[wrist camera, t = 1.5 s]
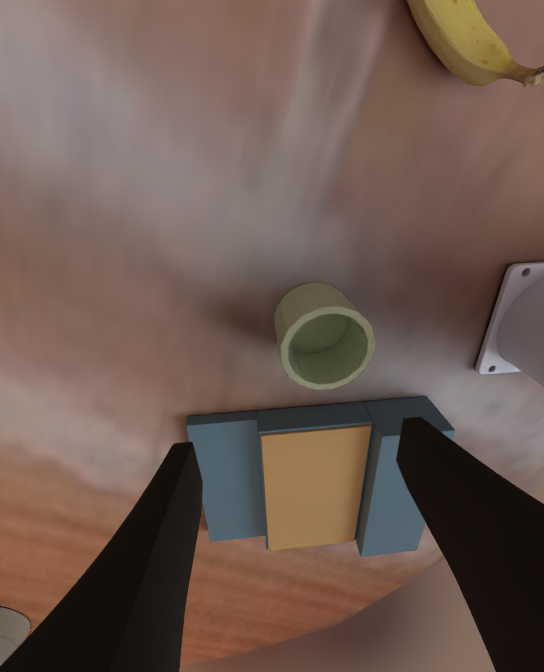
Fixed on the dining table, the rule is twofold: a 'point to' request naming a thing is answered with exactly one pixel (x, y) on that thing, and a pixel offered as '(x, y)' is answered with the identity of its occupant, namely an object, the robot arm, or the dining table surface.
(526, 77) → the banana
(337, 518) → the step shelf
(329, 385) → the cup
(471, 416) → the dining table surface
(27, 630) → the thermos bottle
